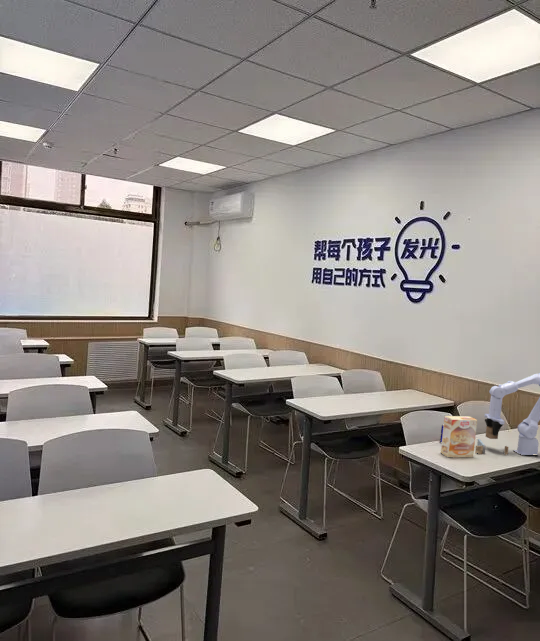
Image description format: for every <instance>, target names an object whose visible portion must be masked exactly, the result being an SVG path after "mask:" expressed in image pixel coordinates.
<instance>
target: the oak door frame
mask: <svg viewBox="0 0 540 641" xmlns="http://www.w3.org/2000/svg"><path fill="white" fill-rule="evenodd" d="M503 450H504V451H503V453H505V454H504V455H506V454H509V446H507V445H505V446H504V449H503ZM482 451H483V446H477V445H475V450H474V452H475V453H474V454H476V453H478V454H477V455H482V454H483V453H482Z"/></svg>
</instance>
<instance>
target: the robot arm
mask: <svg viewBox="0 0 540 641" xmlns="http://www.w3.org/2000/svg"><path fill="white" fill-rule="evenodd" d="M533 384H534V385H538V386H539V387H540V372H538V373H534V374H532V375H529V376H527V377H524V378H523V379H522V378H521V379H520V380H518V381H513V380H507V381H506V382H505V383H502V384H501V383H499V384H498V385H493V386H491V388H490V390H488V391H489V394H490V400H489V410H488V413H484V415H483V417H484V418H485V419H484V422H485V424H486V427H493V435H494V436H497V435H498V436H499V432H500V431H501V428H502V427H503V426H504V425H505V423H506V422H505V420H504V419H503V418H502V417H501V413H502V405H503V398H504V397H505V396H507V395H509V394H512V393H515V392H516V393H517V392H518V390H519V389H520V388H523V387H526V386H530V385H533ZM539 422H540V396H539V398H538V399H537V401H536V403H535V404H534V405H533V408H532V409H531V411H530V413H529V415H528V416H527V418H525V419H523V420H522V422H520V423H519V424H518V425H517V431H518V439H517V440H518V441H517V449H514V450H513V452H514V451H515V452H514V453H516V452H517V453H516V454H518V453H519V454H518V455H520V454H521V456H522V455H533V454H537V455H539V454H538V452H539V444H540V443H539V441H538V439H537V438H536V436H537V434H538V430H539Z"/></svg>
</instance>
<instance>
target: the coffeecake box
mask: <svg viewBox="0 0 540 641" xmlns="http://www.w3.org/2000/svg"><path fill="white" fill-rule="evenodd" d="M443 424H444V427H443V435H442V443H440V444H441V445H440V454H441V453H442V455H443V454H444V455H443V456H445V457H446V456H447V457H446V458H448V457H453V458H474V454H475V453H474V452H475V446H476V437H477V436H476V434H477V426H478V418H477V419H476V418H474V417H472V416H470V415H469V416H468V415H467V416H465V415H464V416H463V415H462V416H461V415H460V416H459V415H455V416H454V415H444V420H443Z"/></svg>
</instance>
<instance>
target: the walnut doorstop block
mask: <svg viewBox="0 0 540 641" xmlns="http://www.w3.org/2000/svg"><path fill="white" fill-rule="evenodd" d="M485 429H486V430H485V438H488V439H490V440H498V439H499V438H498V437H499V434H498V435H497V436H494V435H493V427H487V426H486V427H485Z"/></svg>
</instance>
